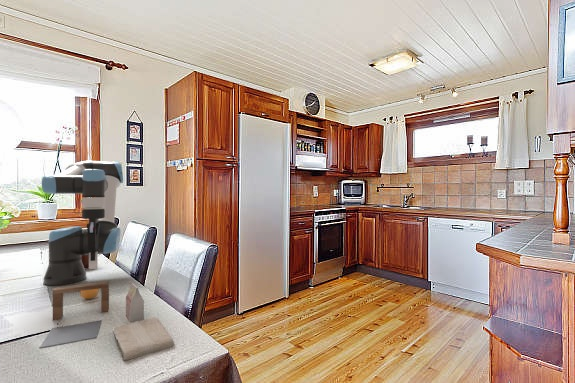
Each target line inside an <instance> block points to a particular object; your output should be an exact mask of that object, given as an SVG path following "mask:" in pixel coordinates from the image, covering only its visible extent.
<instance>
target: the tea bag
mask: <svg viewBox="0 0 575 383" xmlns="http://www.w3.org/2000/svg"><path fill="white" fill-rule="evenodd" d="M125 317H126V318H127V320H128V322H129V323H132V322H140V321H143V320H145V299H144V298H143V296H142V295H141V293H140V291H139V288H138V287H137V286H136V285H135V284H134V283H131V284H130V287H129V290H128V292H127V294H126V296H125Z"/></svg>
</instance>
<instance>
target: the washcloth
mask: <svg viewBox="0 0 575 383" xmlns="http://www.w3.org/2000/svg"><path fill="white" fill-rule="evenodd" d="M113 335H114V337H115V340H114V341H115V343H116V346H117V348H118V351H119V352H120V357H121V359H122V361H130V360H131V359H135V358H138V357H140V356H143V355H146V354H150V353H155V352H158V351H161V350H164V349H168V348H171V347H173V346H174V345H175V342H174V338H173V337H172V336H171V334H170V333H169V332H168V331H167V328H166V327H165V326H164V325H163V324H162V322H161V321H160V319H159V317H155V316H154V317H150V318H146V319H144V320H141V321H137V322H132V323H130V322H127V323H125V324H121V325H117V326H115V327H114V328H113Z"/></svg>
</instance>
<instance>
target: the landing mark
mask: <svg viewBox="0 0 575 383" xmlns="http://www.w3.org/2000/svg"><path fill="white" fill-rule="evenodd" d="M101 325H102V319H99V320H93V321H88V322H81V323H76V324H69V325H63V326H57V327H55V326H54V327H52V328H50V331H49V332H48V333H47V335H46V336H45V338H44V339H43V341H42V343H41V345H40V346H39V349H43V348H50V347H54V346H61V345H65V344H70V343H76V342H81V341H87V340H94V339H97V338H98V334H99V330H100V327H101Z"/></svg>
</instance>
